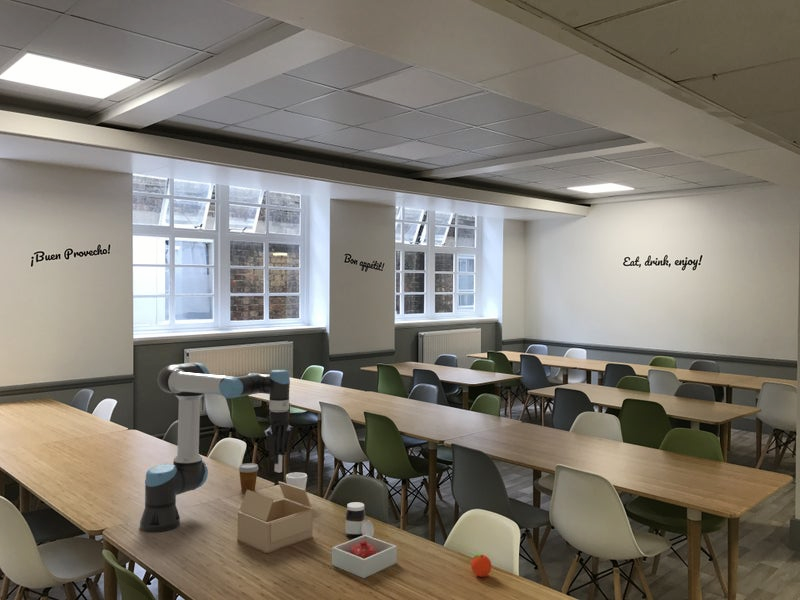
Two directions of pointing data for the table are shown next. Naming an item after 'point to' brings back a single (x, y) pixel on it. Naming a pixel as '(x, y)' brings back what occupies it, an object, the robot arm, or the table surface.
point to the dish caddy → (368, 565)
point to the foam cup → (297, 481)
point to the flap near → (256, 505)
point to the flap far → (294, 493)
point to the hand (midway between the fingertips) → (278, 471)
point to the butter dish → (363, 550)
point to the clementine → (481, 565)
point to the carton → (276, 526)
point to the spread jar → (357, 521)
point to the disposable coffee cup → (248, 476)
